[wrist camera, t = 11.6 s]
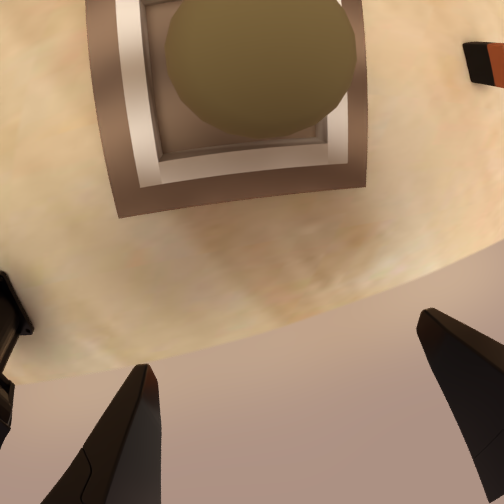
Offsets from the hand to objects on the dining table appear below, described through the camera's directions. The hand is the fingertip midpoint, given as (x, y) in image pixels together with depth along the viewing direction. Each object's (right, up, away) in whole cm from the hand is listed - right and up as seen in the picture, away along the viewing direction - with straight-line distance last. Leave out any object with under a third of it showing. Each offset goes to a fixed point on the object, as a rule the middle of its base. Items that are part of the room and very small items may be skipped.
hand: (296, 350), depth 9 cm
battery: (+16, +18, +8) cm, 25 cm away
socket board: (-3, +14, +7) cm, 15 cm away
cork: (-2, +13, +6) cm, 15 cm away
